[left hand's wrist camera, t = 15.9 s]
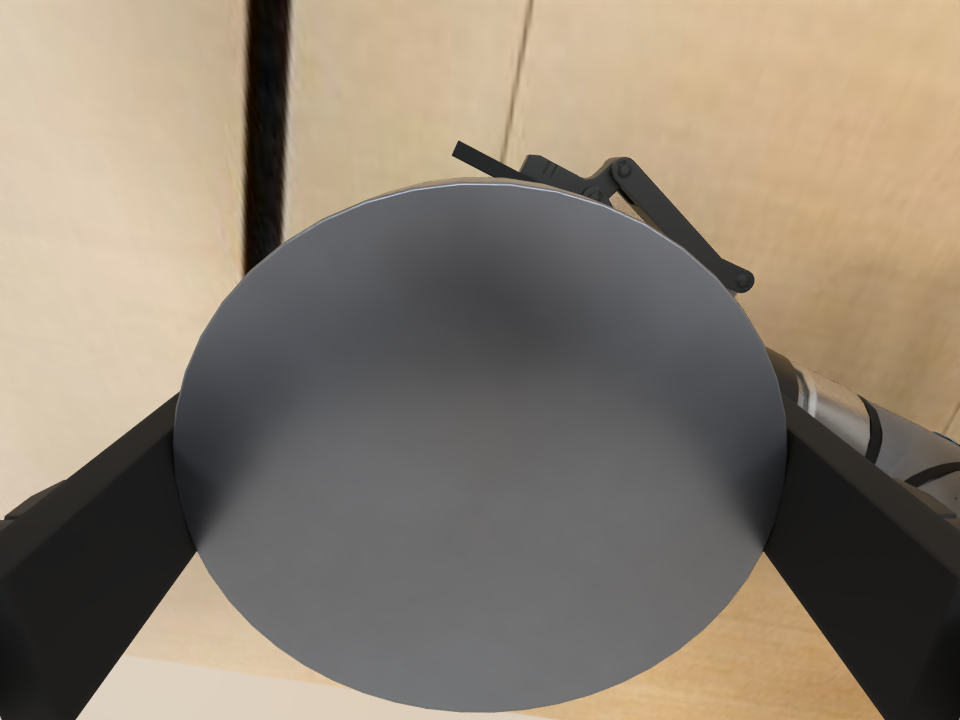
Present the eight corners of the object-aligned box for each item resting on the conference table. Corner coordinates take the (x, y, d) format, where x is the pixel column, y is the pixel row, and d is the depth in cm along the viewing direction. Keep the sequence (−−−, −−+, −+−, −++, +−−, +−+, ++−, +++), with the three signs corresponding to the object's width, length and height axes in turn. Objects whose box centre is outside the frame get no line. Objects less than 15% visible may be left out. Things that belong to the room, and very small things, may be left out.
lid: (113, 329, 11) (34, 367, 9) (633, 62, 10) (673, 38, 8) (382, 687, 15) (366, 770, 13) (793, 541, 13) (849, 610, 11)
